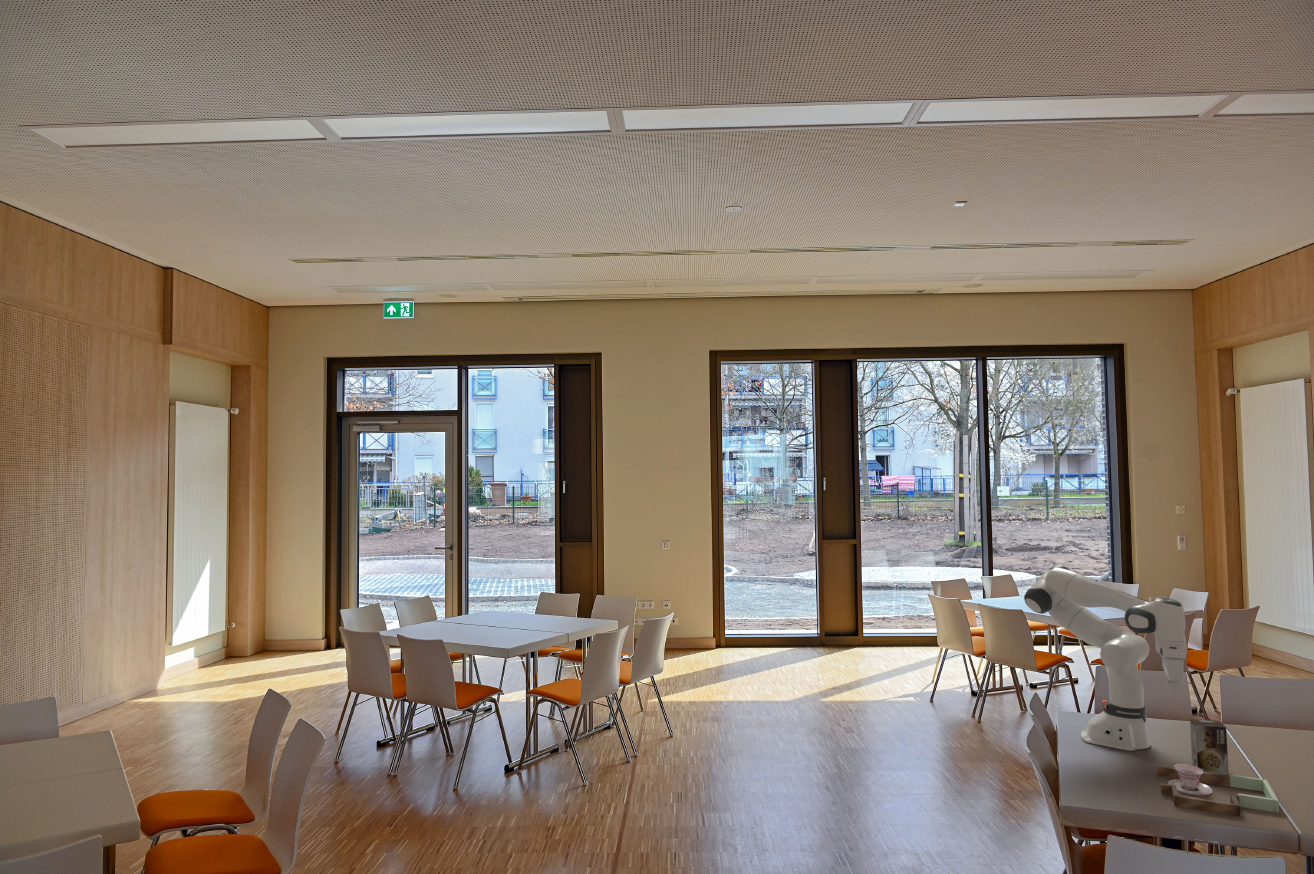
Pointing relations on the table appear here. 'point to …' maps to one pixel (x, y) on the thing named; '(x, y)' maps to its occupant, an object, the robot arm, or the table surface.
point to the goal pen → (1255, 801)
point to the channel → (1199, 803)
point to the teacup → (1190, 780)
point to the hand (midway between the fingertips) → (1172, 689)
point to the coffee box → (1209, 746)
